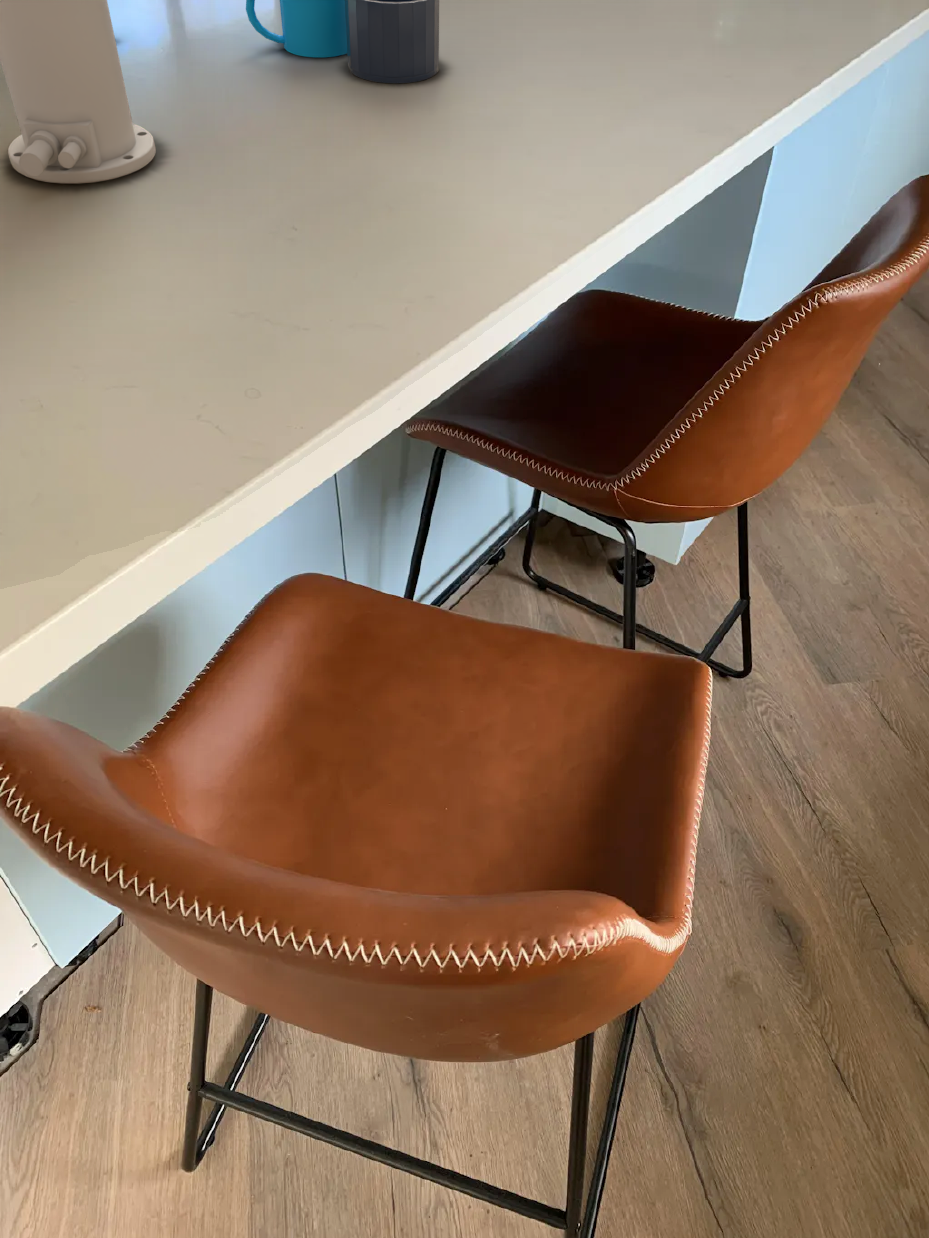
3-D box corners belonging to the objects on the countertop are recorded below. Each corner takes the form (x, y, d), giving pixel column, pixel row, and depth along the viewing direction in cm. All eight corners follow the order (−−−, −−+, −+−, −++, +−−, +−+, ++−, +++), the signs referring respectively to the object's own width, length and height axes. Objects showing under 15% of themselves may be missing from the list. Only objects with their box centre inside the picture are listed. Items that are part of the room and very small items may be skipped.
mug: (347, 33, 114) (343, -48, 108) (361, 55, 109) (357, -29, 103) (246, 38, 111) (236, -45, 105) (254, 61, 106) (244, -25, 100)
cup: (438, 85, 103) (439, 4, 97) (345, 82, 102) (340, 1, 97) (438, 55, 110) (439, -22, 104) (351, 52, 109) (347, -25, 104)
